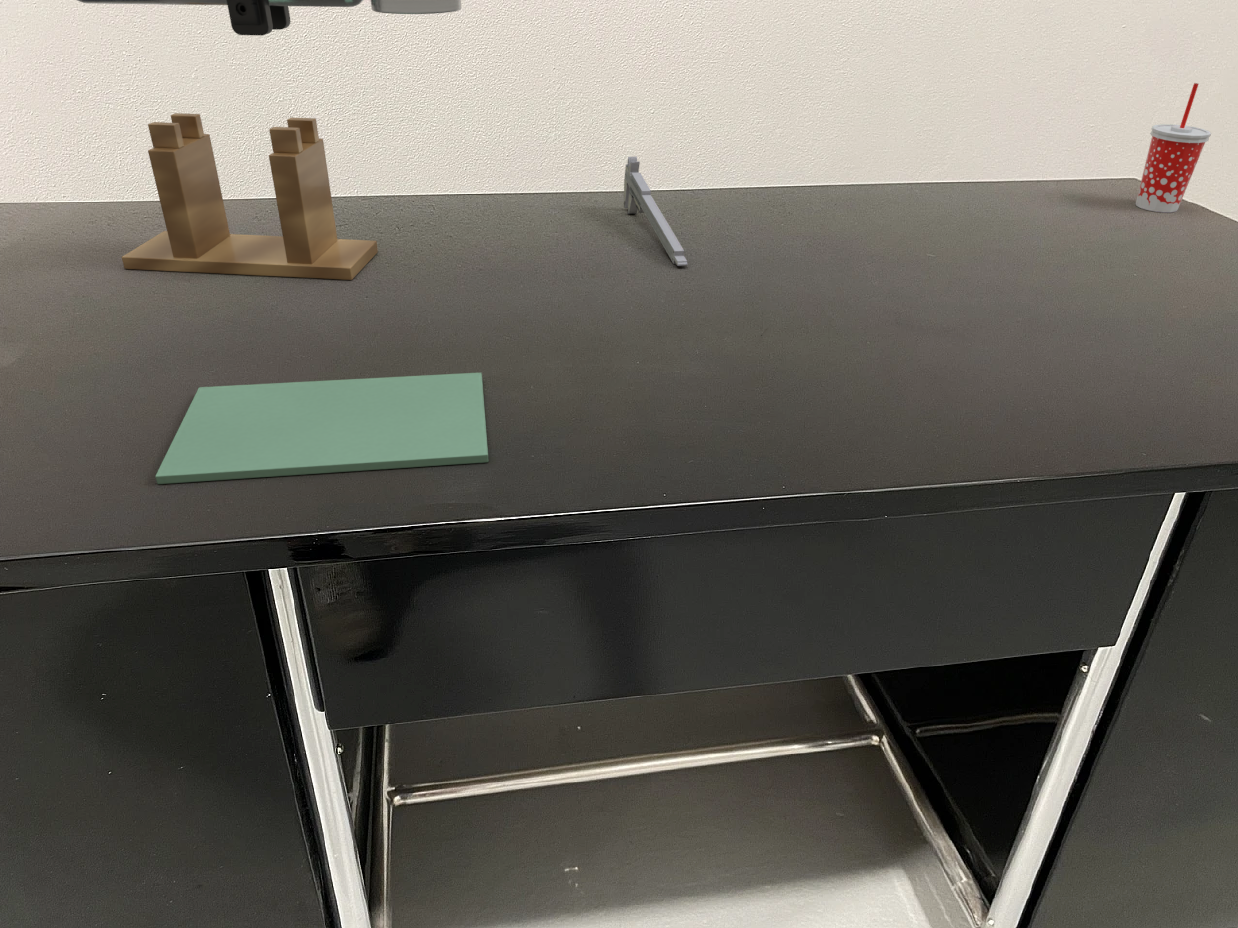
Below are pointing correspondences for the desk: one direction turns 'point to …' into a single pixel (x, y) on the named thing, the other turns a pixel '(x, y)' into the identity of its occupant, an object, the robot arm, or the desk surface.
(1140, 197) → the beverage cup
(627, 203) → the caliper
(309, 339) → the desk surface
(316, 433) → the mat
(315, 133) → the rack
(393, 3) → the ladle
